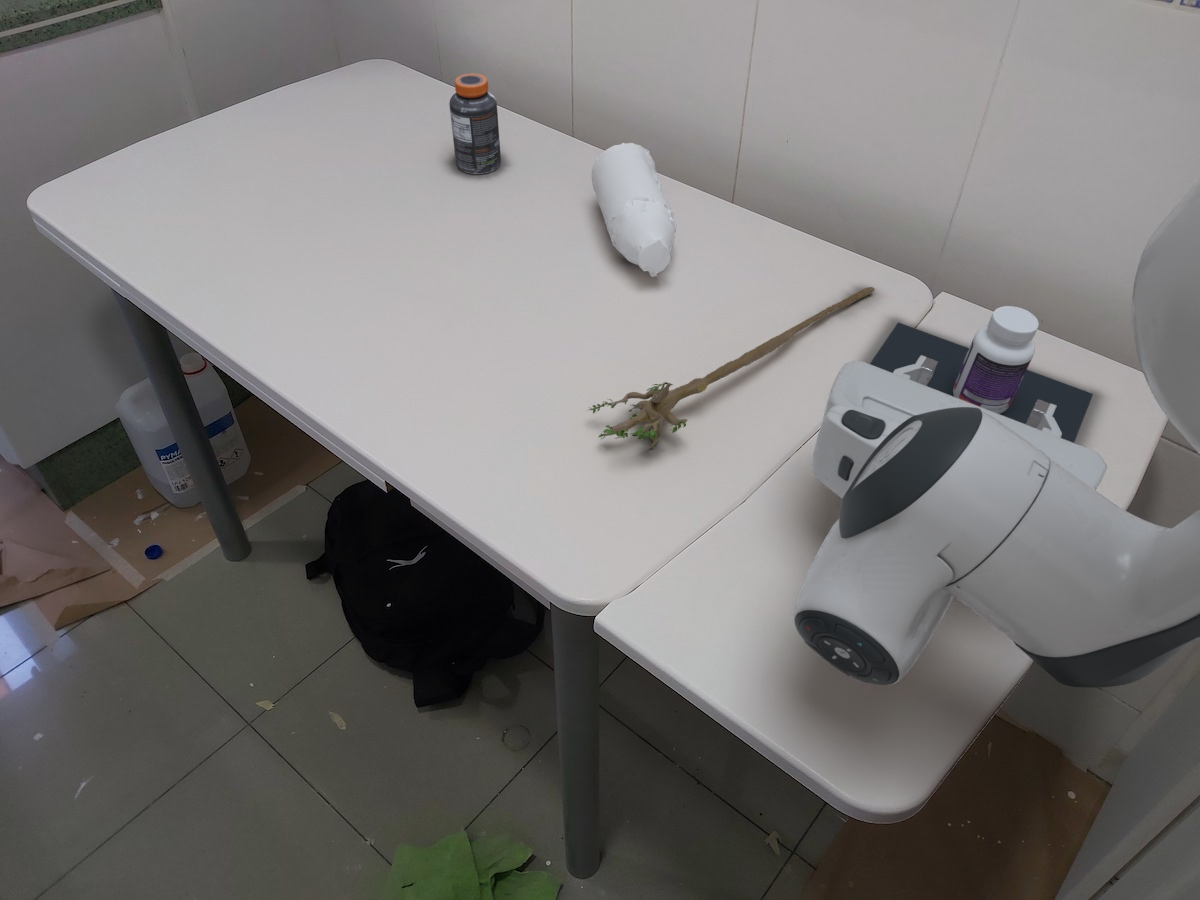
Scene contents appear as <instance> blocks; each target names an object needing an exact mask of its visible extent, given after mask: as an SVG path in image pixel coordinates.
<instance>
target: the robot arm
mask: <svg viewBox="0 0 1200 900" xmlns="http://www.w3.org/2000/svg"><path fill="white" fill-rule="evenodd" d="M1131 324H1132V325H1131V326H1132V335H1133V339H1134V345H1135V349H1136V354H1137V359H1138V361H1139V365H1140V368H1141V371H1142V373H1143V377H1144V379H1145V382H1146V384H1147V386H1148V388H1149V391H1150V393H1151V395H1153V398H1154V400H1155V401H1156V403H1157V404H1158V406H1159V408H1160V409H1161V412H1163V414H1164V415H1165V416H1166V418H1167V419H1168V420H1169V421H1170V423H1171V424H1172V425H1173V426H1174V428H1175V429H1176V430H1177V431H1178V432H1179V433H1180V434H1181V435H1182V436H1183V438H1184V439H1186V441H1187V442H1188V443H1189V444H1190V445H1191V447H1193V449H1194V450H1195V451H1196V452H1197V453H1198V454H1199V455H1200V178H1198V179H1197V180H1196V181H1195V183H1194V184H1192V186H1191V187H1190V188H1189V189H1188V190H1187V191H1186V192H1185V193H1184V194H1183V196H1182V197H1181V198H1180V199H1179V200H1178V201H1177V202H1176V203H1175V205H1174V206H1172V208H1171V209H1170V211H1169V212H1167V214H1166V215H1165V216H1164V217H1163V219H1162V220H1161V221H1160V222H1159V224H1158V225H1157V226H1156V228H1155V229H1154V231H1153V232H1152V233H1151V235H1150V236H1149V238H1148V240H1147V242H1146V244H1145V246H1144V248H1143V250H1142V253H1141V256H1140V258H1139V262H1138V266H1137V269H1136V273H1135V276H1134V281H1133V288H1132V295H1131ZM937 364H938V361H935V360H933V359H930V358H928V357H925V356H923V355H921V356H920V357H919V359H918V360H917V362H916V363H915V365H914V364H912V365H908V366H905V367H902V368H898V369H895V370H894V372H893V373H891V372H888V371H886V370H883V369H881V368H878V367H876V366H873V365H870V363H868V362H866V361H863V360H854V361H849V362H846V363H844V364H843V365H842V366H841V368H840V370H839V372H838V373H837V375H836V377H835V379H834V380H833V383H832V386H831V389H830V392H829V395H828V398H827V401H826V405H825V408H824V411H823V415H822V420H821V425H820V428H819V430H818V433H817V436H816V439H815V444H814V448H813V452H812V459H811V469H810V470H811V474H812V476H813V477H814V478H815V479H816V480H817V481H819V483H821V484H822V485H824V486H825V487H826V488H827V489H829V490H830V491H831V492H833V493H834V494H835V495H837V497H839V499H841V500H840V504H839V505H840V506H839V518H838V519H837V520H836V521H835V522H834V523H833V524H832V526H831V528H830V529H829V531H828V532H827V535H826V536H825V538H824V539H823V541H822V543H821V544H820V547H819V548H818V550H817V552H816V554H815V557H814V558H813V561H812V562H811V565H810V567H809V568H808V571H807V574H806V575H805V578H804V581H803V583H802V586H801V588H800V590H799V593H798V597H797V600H796V603H795V607H794V611H793V623H794V626H795V629H796V631H797V633H798V635H799V636H800V637H801V639H802V640H803V641H804V643H805V645H807V646H808V647H809V648H810V649H811V650H812V651H813V652H815V654H817V655H818V656H819V657H820V658H821V659H822V660H824V661H826V662H827V663H828V664H830V665H831V666H833V667H834V668H835V669H837V670H838V671H840V672H841V673H843V674H844V675H846V676H847V677H850V678H853V679H855V680H858V681H860V682H863V683H866V684H872V685H878V686H891V685H895V684H897V683H899V682H901V680H902V679H904V677H905V676H906V675H907V674H908V673H909V672H910V671H911V669H912V668H913V666H915V664H916V662H917V661H918V660H919V658H920V657H921V655H922V654H923V652H924V650H925V649H926V648H927V646H928V644H929V643H930V642H931V640H932V638H933V637H934V635H935V633H936V632H937V630H938V628H939V626H940V624H941V623H942V621H943V619H944V617H945V615H946V614H947V611H948V609H949V608H950V605H951V604H952V601H953V599H954V598H955V599H956V600H957V601H958V602H960V603H961V604H963V605H964V606H966V607H967V608H968V609H970V610H971V611H972V612H974V613H975V614H976V615H978V616H979V617H980V618H981V619H983V620H984V621H986V622H987V623H989V624H990V625H991V626H993V627H994V628H995V629H997V630H998V631H999V632H1001V633H1002V634H1003V635H1004V636H1006V637H1007V638H1009V639H1010V640H1011V641H1012V642H1013V643H1014V644H1015V646H1016V647H1017V648H1019V650H1021V651H1022V652H1023V653H1024V654H1025V655H1027V656H1028V658H1030V659H1031V660H1032V661H1034V663H1036V664H1037V665H1038V666H1040V668H1042V669H1043V671H1045V672H1046V673H1047V674H1049V676H1051V677H1052V678H1053V679H1054V680H1055V681H1056V682H1057V683H1060V684H1061V685H1064V686H1066V687H1067V686H1068V687H1073V688H1087V689H1088V688H1089V689H1090V688H1091V689H1094V688H1111V687H1119V686H1124V685H1129V684H1132V683H1134V682H1137V681H1139V680H1141V679H1143V678H1145V677H1147V676H1148V675H1150V674H1152V673H1153V672H1154V671H1156V670H1157V669H1159V668H1160V667H1162V666H1163V665H1164V664H1166V662H1168V661H1170V660H1171V659H1172V658H1173V657H1175V656H1176V655H1177V654H1178V653H1180V652H1181V651H1182V650H1183V649H1184V648H1186V647H1187V646H1189V645H1190V644H1192V643H1193V642H1195V641H1196V640H1198V639H1200V508H1199V509H1198V510H1197V511H1195V512H1193V513H1192V514H1191V515H1189V516H1188V517H1187V518H1185V519H1184V520H1182V521H1180V522H1179V523H1178V524H1176V525H1175V526H1173V527H1166V526H1162V525H1159V524H1156V523H1153V522H1150V521H1147V520H1145V519H1143V518H1141V517H1138V516H1137V515H1134V514H1133V513H1130V512H1129V511H1127V510H1126V509H1123V507H1120V506H1119V505H1117V504H1116V503H1114V502H1113V501H1112V500H1111V499H1109V498H1107V497H1106V496H1105V495H1103V494H1102V493H1100V492H1099V491H1097V489H1098V487H1099V486H1100V485H1101V482H1102V480H1103V479H1104V476H1105V475H1106V472H1107V469H1108V466H1107V463H1106V462H1105V460H1104V458H1103V457H1102V455H1101V454H1100V453H1099V452H1097V451H1095V450H1093V449H1091V448H1088V447H1086V446H1083V445H1081V444H1077V443H1075V442H1074V443H1072V442H1070V441H1067V440H1065V439H1062V438H1061V435H1062V432H1061V430H1060V428H1059V426H1058V425H1057V423H1056V421H1055V419H1054V417H1052V416H1053V414H1054V411H1055V409H1056V407H1057V405H1054V404H1051V403H1048V402H1045V401H1042V400H1039V399H1037V401H1036V403H1035V405H1034V407H1033V409H1032V411H1031V413H1030V415H1029V418H1028V420H1027V422H1026V424H1023V423H1021V422H1018V421H1015V420H1013V419H1010V418H1008V417H1005V416H1002V415H1000V414H997V413H995V412H992V411H989V410H987V409H984V408H982V407H979V406H976V405H974V404H971V403H969V402H966V401H964V400H961V399H958V398H956V397H953V396H951V395H948V394H945V393H943V392H940V391H938V390H935V389H933V388H930V387H927V385H928V383H929V381H930V380H931V378H932V376H933V374H934V372H935V368H936V366H937Z"/></svg>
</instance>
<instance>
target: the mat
mask: <svg viewBox="0 0 1200 900" xmlns="http://www.w3.org/2000/svg"><path fill="white" fill-rule="evenodd" d="M969 348H970V347H966V346H964V345H962V344H959V343H956V342H953V341H950V340H948V339H945V338H942V337H939V336H937V335H934V334H931V333H929V332H926V331H924V330H920V329H918V328H915V327H912V326H909V325H907V324H904V323H902V322H899V321H898V322H897V323H896V325H895V326H894V328H893V329H892V330H891V332H890V333H889V335H888V337H887V338H886V339H885V341H884V342H883V344H882V345H881V347H880V349H879V350H878V351H877V352H876V354H875V356H874V357H873V358H872V360H871V361H870V363H869V364H870V365H873V366H876V367H878V368H881V369H883V370H886V371H888V372H891V373H893V372H894V370H895V369H898V368H902V367H905V366H908V365H912V364H914V365H915V363H916V362H917V360H918V359H919V357H920V356H921V355H923V356H925V357H928V358H930V359H933V360H935V361H938V364H937V366H936V368H935V372H934V374H933V376H932V378H931V380H930V381H929V383H928V385H927V387H930V388H933V389H935V390H938V391H940V392H943V393H945V394H948V395H951V396H953V397H954V395H953V388H954V385H955V382H956V379H957V377H958V374H959V372H960V369H961V367H962V365H963V362H964V360H965V357H966V355H967V352H968V350H969ZM1093 394H1094V393H1091V392H1089V391H1087V390H1083V389H1080V388H1078V387H1076V386H1073V385H1070V384H1067V383H1065V382H1063V381H1060V380H1056V379H1054V378H1052V377H1049V376H1045V375H1042V374H1040V373H1038V372H1036V371H1035V372H1034V371H1032V370H1030V369H1027V370H1026V372H1025V374H1024V377H1023V378H1022V381H1021V383H1020V385H1019V387H1018V389H1017V391H1016V393H1015V395H1014V398H1013V400H1012V402H1011V404H1010V405H1009V407H1008V408H1007V410H1006V411H1004V412H1003V413H1001V414H1000V415H1002V416H1005V417H1008V418H1010V419H1013V420H1015V421H1018V422H1021V423H1023V424H1026V422H1027V420H1028V418H1029V415H1030V413H1031V411H1032V409H1033V407H1034V405H1035V403H1036V401H1037V399H1039V400H1042V401H1045V402H1048V403H1051V404H1054V405H1057V407H1056V409H1055V411H1054V414H1053V416H1052V417H1054V419H1055V421H1056V423H1057V425H1058V426H1059V428H1060V430H1061V432H1062V435H1061V438H1062V439H1065V440H1067V441H1070V442H1072V443H1075V441H1076V438H1077V436H1078V433H1079V431H1080V428H1081V426H1082V423H1083V420H1084V418H1085V415H1086V413H1087V410H1088V408H1089V405H1090V403H1091V400H1092V398H1093V396H1094V395H1093Z"/></svg>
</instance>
